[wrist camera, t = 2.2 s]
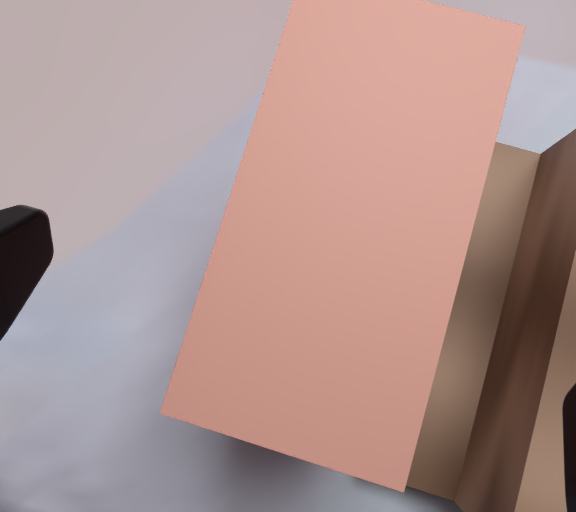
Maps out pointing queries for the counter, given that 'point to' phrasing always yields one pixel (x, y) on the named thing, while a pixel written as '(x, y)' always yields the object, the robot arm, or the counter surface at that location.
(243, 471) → the counter surface
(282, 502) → the counter surface
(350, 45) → the pink rectangular block
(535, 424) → the book rack
